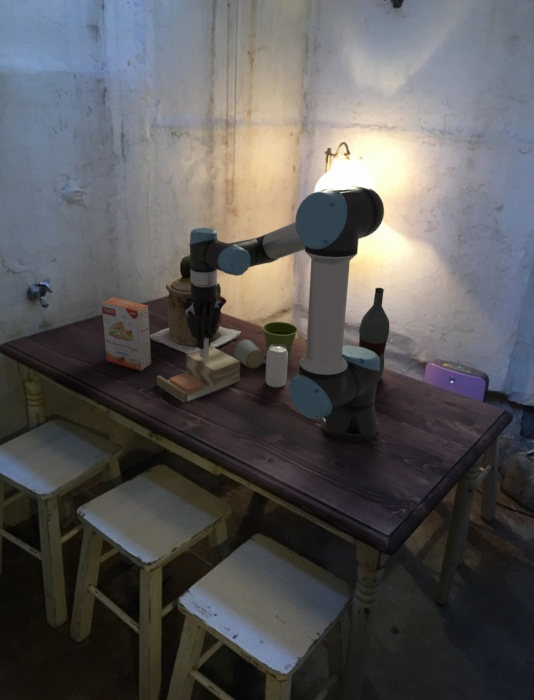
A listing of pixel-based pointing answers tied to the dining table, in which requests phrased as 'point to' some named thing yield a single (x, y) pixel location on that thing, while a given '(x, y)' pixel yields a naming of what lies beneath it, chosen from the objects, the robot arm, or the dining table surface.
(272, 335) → the plant pot
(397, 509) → the dining table surface
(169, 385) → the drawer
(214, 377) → the beige rectangular slab
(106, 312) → the cracker box
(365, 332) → the bottle
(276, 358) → the can
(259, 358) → the ceramic mug
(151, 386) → the dining table surface
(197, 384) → the orange rectangular slab
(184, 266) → the cookie jar
